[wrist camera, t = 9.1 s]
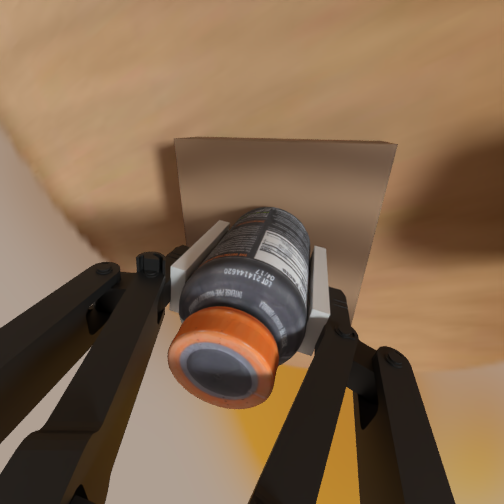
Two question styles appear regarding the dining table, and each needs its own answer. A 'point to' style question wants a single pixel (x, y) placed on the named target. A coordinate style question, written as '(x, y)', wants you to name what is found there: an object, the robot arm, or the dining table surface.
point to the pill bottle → (244, 310)
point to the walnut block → (291, 192)
